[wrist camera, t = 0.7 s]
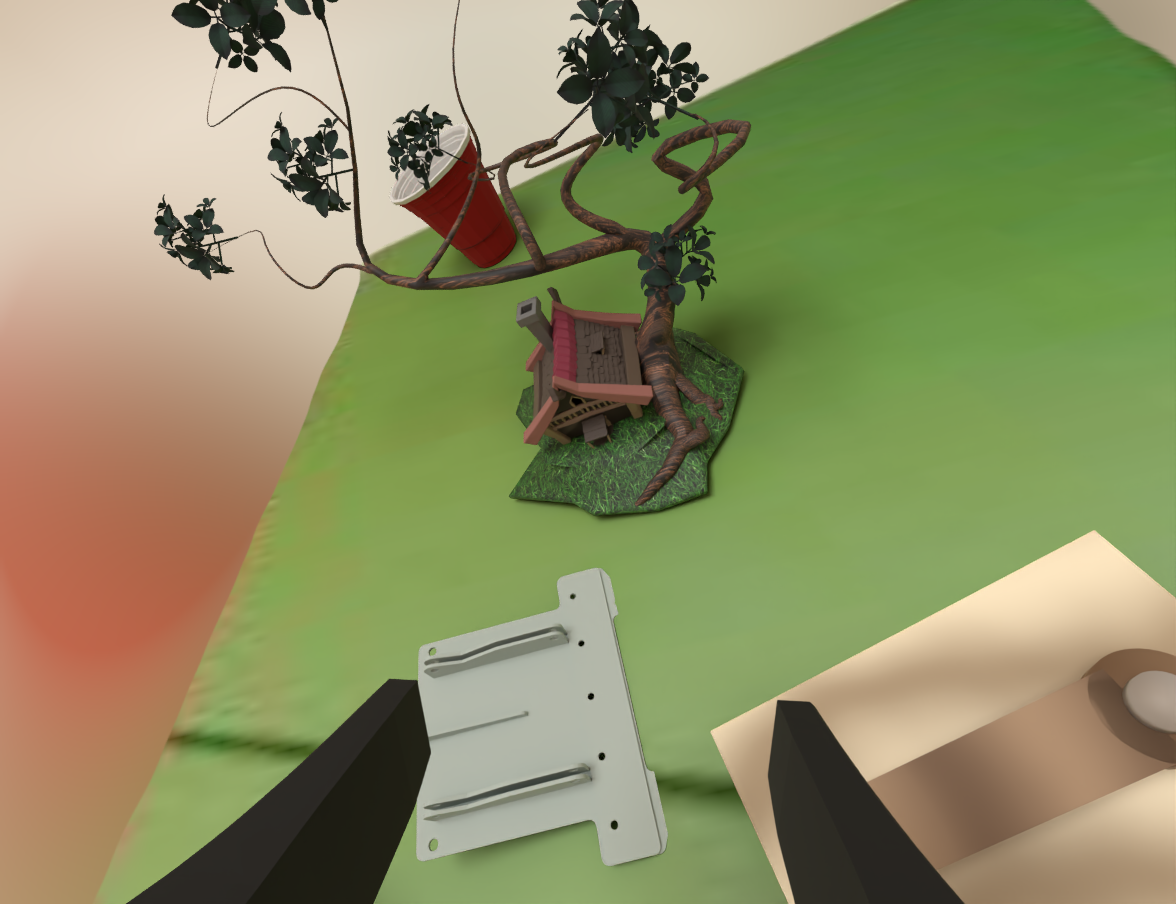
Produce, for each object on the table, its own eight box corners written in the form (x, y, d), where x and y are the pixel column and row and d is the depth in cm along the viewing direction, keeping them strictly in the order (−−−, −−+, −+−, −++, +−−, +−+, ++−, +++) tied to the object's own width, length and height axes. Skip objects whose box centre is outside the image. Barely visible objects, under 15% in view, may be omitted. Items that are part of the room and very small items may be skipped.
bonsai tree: (756, 217, 45) (573, -431, 22) (854, 459, 31) (629, -675, 7) (426, 367, 57) (83, 57, 34) (387, 589, 43) (-249, 318, 20)
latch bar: (1141, 643, 21) (1165, 624, 19) (1247, 741, 18) (1288, 731, 16) (806, 805, 23) (794, 804, 21) (861, 911, 20) (854, 922, 18)
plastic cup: (466, 238, 68) (398, 152, 60) (539, 205, 64) (477, 106, 55) (449, 297, 63) (371, 212, 54) (527, 266, 58) (456, 167, 49)
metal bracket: (380, 921, 24) (393, 609, 34) (434, 912, 29) (432, 639, 38) (687, 845, 24) (614, 549, 33) (693, 848, 28) (627, 587, 38)
